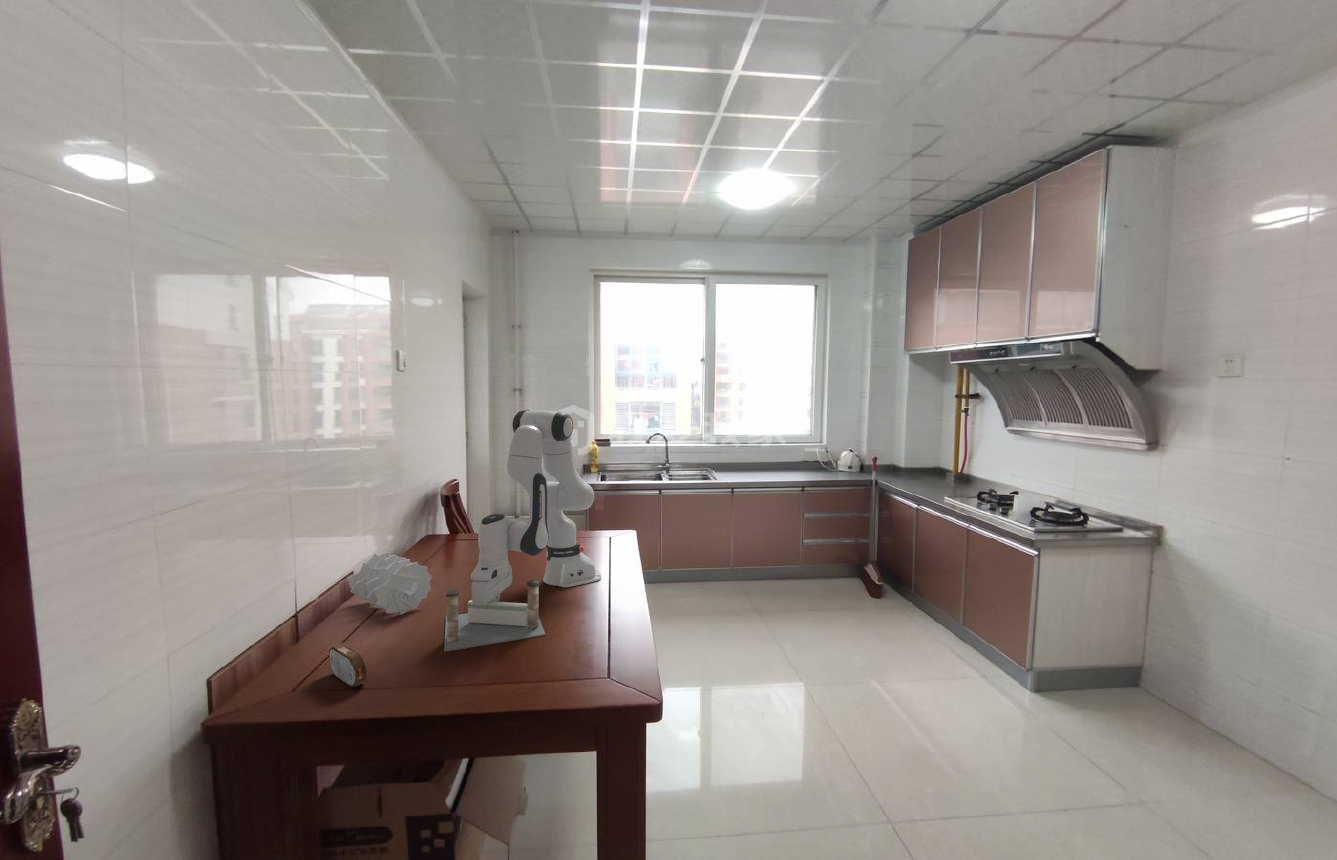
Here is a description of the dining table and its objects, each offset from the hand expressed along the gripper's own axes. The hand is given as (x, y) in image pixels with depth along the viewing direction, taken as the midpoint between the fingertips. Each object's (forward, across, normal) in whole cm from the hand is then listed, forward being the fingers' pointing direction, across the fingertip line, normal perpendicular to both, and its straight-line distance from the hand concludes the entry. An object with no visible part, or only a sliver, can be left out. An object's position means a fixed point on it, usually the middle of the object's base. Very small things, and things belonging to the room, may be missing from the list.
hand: (493, 608), depth 163 cm
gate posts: (+4, +9, +4) cm, 10 cm away
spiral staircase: (+4, -5, -40) cm, 40 cm away
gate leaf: (+3, +3, +3) cm, 5 cm away
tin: (+4, +38, -20) cm, 43 cm away
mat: (+4, +3, +2) cm, 6 cm away
